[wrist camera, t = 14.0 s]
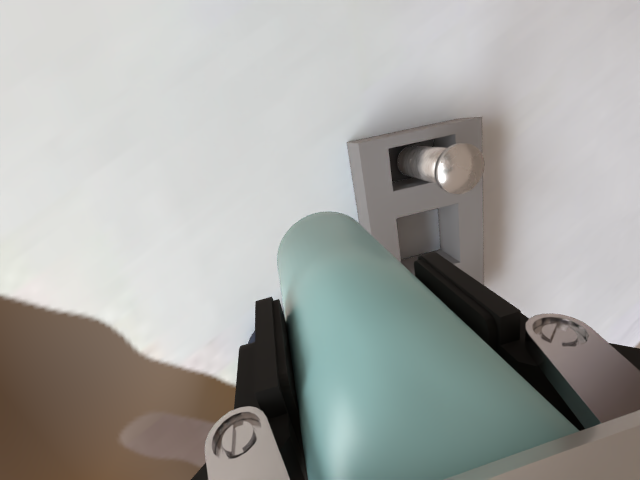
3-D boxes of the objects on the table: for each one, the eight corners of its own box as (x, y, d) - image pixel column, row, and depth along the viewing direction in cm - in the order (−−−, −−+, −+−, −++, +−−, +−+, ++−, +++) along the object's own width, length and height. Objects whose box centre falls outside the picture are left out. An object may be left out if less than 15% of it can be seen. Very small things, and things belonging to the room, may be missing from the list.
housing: (346, 142, 32) (358, 143, 28) (456, 118, 33) (481, 116, 29) (374, 323, 39) (387, 343, 35) (463, 299, 40) (484, 315, 37)
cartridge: (265, 225, 15) (302, 694, 3) (363, 200, 15) (788, 492, 3) (290, 311, 16) (381, 829, 4) (377, 286, 17) (682, 689, 5)
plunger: (391, 145, 31) (436, 149, 23) (427, 137, 32) (483, 138, 24) (395, 183, 32) (439, 199, 24) (429, 175, 33) (484, 188, 25)
